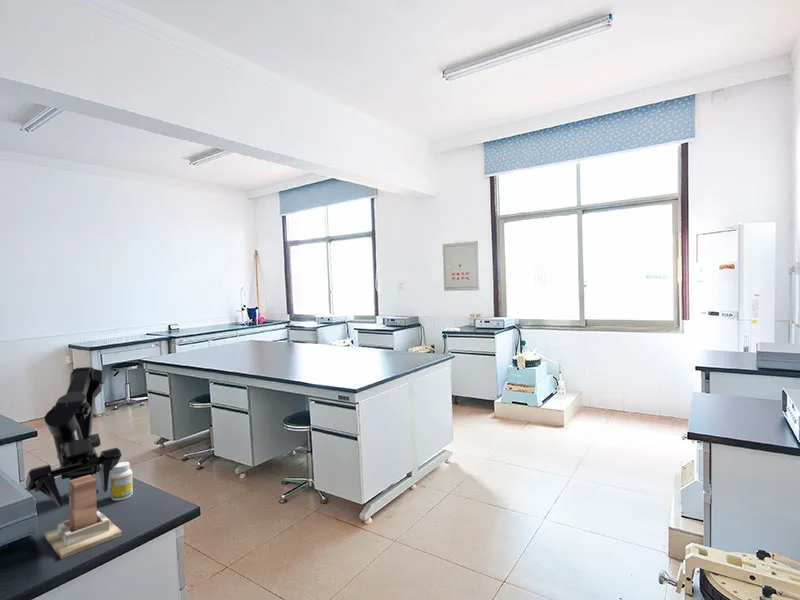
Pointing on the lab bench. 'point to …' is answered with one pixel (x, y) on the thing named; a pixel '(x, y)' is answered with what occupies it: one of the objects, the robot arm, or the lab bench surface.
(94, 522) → the peg
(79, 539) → the socket holder
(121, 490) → the supplement bottle
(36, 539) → the lab bench surface
